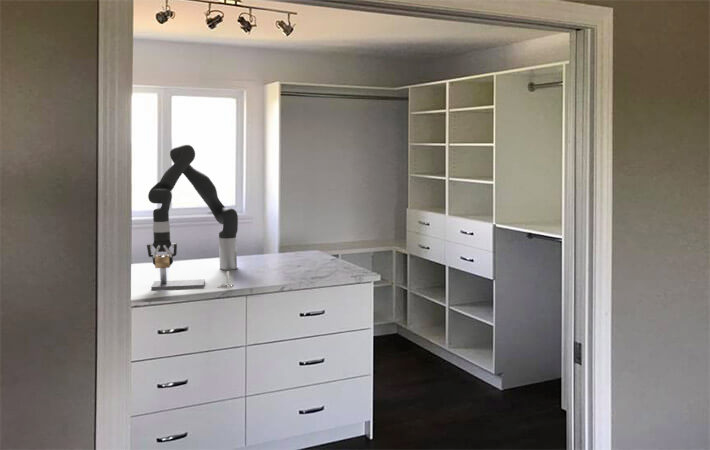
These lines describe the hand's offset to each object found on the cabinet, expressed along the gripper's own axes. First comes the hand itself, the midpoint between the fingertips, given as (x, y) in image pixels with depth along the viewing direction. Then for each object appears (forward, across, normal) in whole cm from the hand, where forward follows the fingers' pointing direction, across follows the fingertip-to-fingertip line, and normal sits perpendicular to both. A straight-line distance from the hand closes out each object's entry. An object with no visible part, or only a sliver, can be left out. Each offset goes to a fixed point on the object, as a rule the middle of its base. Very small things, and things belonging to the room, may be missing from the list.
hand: (163, 264), depth 304 cm
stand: (+11, -29, +5) cm, 31 cm away
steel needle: (+9, 0, 0) cm, 9 cm away
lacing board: (+11, -7, 0) cm, 13 cm away
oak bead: (+1, 0, 0) cm, 1 cm away
